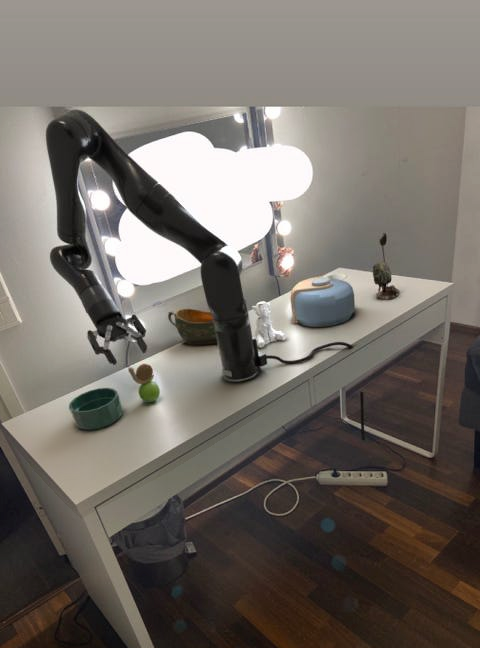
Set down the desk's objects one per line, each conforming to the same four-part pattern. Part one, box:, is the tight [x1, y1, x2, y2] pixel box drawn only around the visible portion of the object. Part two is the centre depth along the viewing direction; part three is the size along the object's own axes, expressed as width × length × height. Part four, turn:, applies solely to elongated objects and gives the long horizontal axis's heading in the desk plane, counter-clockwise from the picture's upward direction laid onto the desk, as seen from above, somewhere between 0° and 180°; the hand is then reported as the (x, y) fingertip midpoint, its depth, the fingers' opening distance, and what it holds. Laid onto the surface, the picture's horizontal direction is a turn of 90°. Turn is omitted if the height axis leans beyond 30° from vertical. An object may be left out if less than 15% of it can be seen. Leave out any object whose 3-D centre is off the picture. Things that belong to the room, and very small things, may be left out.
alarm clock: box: [289, 275, 356, 328], centre depth 157 cm, size 19×20×12 cm
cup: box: [167, 308, 218, 346], centre depth 158 cm, size 13×20×10 cm, turn 41°
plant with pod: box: [371, 232, 400, 300], centre depth 161 cm, size 8×11×20 cm
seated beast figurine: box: [250, 301, 287, 349], centre depth 148 cm, size 10×9×12 cm
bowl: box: [68, 387, 124, 431], centre depth 124 cm, size 12×12×6 cm
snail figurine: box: [125, 363, 161, 403], centre depth 126 cm, size 5×6×12 cm
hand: (130, 357), depth 127 cm, fingers open, 8 cm apart
